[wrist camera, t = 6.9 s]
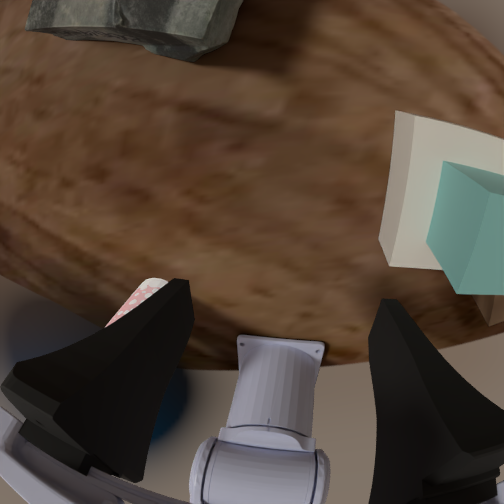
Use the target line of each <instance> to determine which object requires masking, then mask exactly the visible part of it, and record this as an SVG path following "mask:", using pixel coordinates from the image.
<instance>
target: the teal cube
mask: <svg viewBox="0 0 504 504" xmlns="http://www.w3.org/2000/svg"><path fill="white" fill-rule="evenodd" d="M426 243H427V245H428V246H429V248H430V249H431V251H432V253H433V254H434V256H435V257H436V259H437V261H438V262H439V264H440V266H441V267H442V269H443V271H444V272H445V274H446V276H447V278H448V279H449V281H450V283H451V285H452V286H453V288H454V290H455V292H456V294H478V295H504V175H501V174H497V173H493V172H490V171H486V170H482V169H478V168H474V167H470V166H466V165H462V164H457V163H453V162H448V161H443V163H442V170H441V175H440V181H439V186H438V191H437V196H436V201H435V206H434V210H433V215H432V219H431V223H430V227H429V231H428V235H427V238H426Z"/></svg>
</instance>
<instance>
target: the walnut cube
mask: <svg viewBox="0 0 504 504" xmlns="http://www.w3.org/2000/svg"><path fill="white" fill-rule="evenodd" d="M471 295H472V297H473V299H474V300H475V302H476V304H477V306H478V308H479V309H480V311H481V313H482V315H483V317H484V319H485V321H486V323H487V324H488V326H492V325H495V324H497V323H500V322H502V321H504V295H478V294H471Z"/></svg>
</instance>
